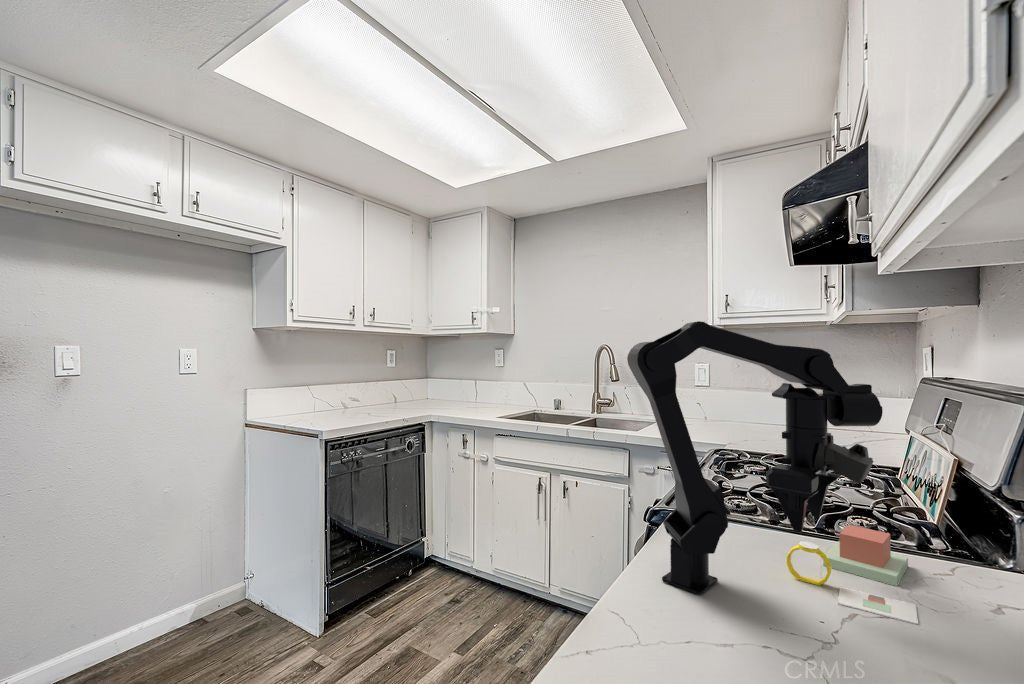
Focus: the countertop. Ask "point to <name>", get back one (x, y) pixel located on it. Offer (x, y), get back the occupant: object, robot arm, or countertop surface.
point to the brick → (865, 545)
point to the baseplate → (869, 567)
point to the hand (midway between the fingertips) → (807, 523)
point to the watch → (812, 549)
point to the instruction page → (878, 605)
